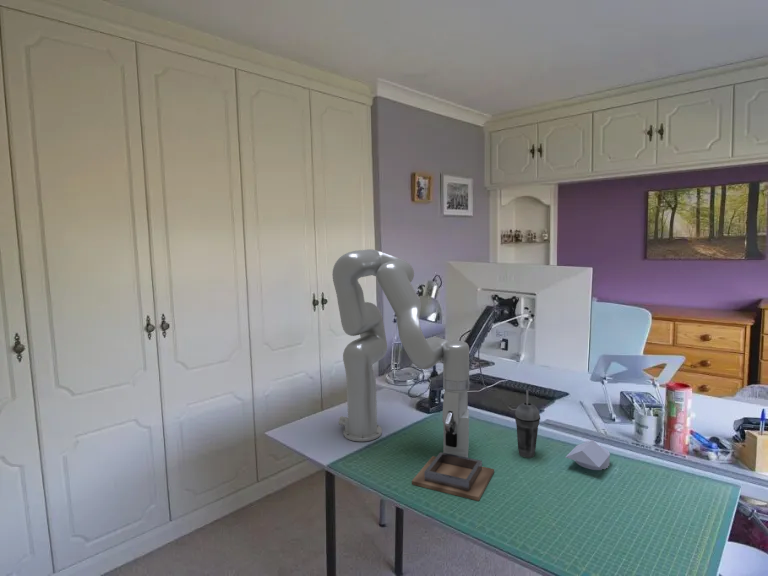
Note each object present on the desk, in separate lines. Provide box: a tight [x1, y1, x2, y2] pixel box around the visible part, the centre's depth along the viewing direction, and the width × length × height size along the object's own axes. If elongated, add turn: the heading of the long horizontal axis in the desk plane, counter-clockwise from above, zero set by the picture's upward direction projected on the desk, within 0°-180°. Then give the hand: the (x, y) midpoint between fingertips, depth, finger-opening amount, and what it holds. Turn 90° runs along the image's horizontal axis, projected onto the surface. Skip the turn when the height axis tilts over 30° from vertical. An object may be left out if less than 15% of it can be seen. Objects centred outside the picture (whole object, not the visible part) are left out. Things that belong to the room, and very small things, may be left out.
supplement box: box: [442, 408, 470, 458], centre depth 142 cm, size 7×7×13 cm
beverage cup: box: [514, 389, 541, 459], centre depth 140 cm, size 7×7×20 cm
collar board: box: [411, 451, 495, 502], centre depth 128 cm, size 18×15×4 cm
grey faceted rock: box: [565, 439, 611, 471], centre depth 134 cm, size 9×7×13 cm
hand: (456, 439), depth 142 cm, fingers closed on supplement box, 8 cm apart
